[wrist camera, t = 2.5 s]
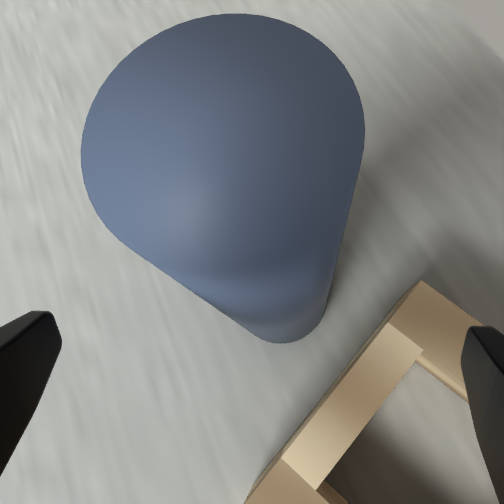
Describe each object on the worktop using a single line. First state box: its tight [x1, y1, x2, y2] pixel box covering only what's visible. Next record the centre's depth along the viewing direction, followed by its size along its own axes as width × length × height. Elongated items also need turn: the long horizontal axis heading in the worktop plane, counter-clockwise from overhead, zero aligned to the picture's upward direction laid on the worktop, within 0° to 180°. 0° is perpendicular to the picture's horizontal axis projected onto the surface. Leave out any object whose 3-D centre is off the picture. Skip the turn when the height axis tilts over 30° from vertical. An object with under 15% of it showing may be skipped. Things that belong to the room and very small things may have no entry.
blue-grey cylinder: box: [81, 14, 365, 343], centre depth 13 cm, size 4×4×14 cm
